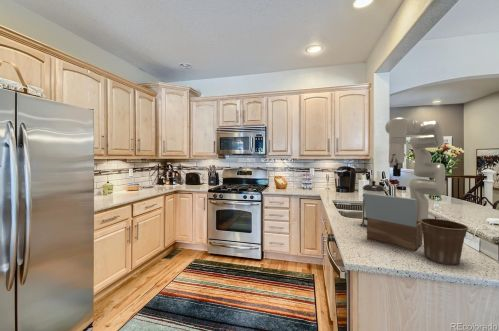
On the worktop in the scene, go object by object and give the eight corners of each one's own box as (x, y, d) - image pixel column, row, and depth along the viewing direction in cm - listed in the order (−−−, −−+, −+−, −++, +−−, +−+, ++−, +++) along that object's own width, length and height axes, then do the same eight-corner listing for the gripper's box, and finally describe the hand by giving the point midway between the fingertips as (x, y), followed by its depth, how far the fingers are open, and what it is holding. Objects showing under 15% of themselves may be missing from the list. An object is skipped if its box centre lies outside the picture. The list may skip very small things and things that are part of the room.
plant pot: (472, 271, 91) (474, 231, 90) (422, 262, 98) (423, 224, 98) (459, 256, 105) (461, 221, 104) (416, 249, 113) (417, 216, 112)
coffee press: (354, 222, 158) (355, 179, 157) (378, 223, 158) (379, 179, 157) (366, 230, 141) (367, 182, 140) (392, 231, 140) (394, 182, 139)
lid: (364, 192, 123) (363, 193, 122) (415, 198, 106) (415, 199, 105) (366, 216, 126) (365, 217, 125) (416, 226, 109) (416, 227, 108)
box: (376, 233, 135) (377, 213, 135) (422, 244, 119) (423, 221, 119) (366, 239, 126) (367, 217, 126) (414, 251, 110) (415, 226, 109)
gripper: (394, 142, 129) (393, 175, 130) (384, 141, 119) (383, 176, 120) (410, 141, 124) (409, 176, 124) (401, 140, 114) (400, 177, 115)
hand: (396, 176), depth 122 cm, fingers closed
